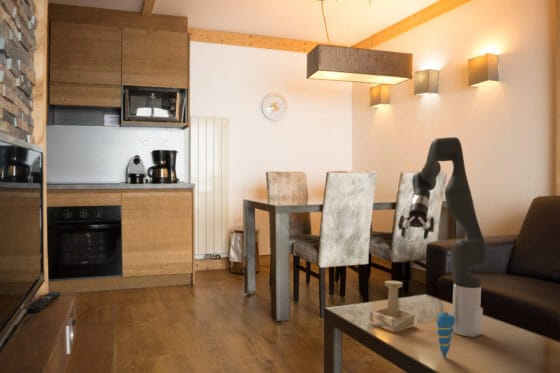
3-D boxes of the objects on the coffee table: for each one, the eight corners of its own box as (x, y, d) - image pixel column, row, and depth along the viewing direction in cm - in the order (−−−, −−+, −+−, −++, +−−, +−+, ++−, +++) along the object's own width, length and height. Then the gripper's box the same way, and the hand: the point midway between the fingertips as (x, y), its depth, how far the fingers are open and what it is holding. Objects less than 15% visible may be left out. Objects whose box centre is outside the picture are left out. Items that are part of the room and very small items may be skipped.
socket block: (414, 326, 172) (414, 313, 172) (395, 332, 165) (395, 319, 165) (388, 318, 181) (389, 306, 181) (369, 323, 174) (370, 311, 174)
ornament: (449, 354, 145) (451, 306, 145) (456, 360, 140) (458, 311, 140) (433, 353, 145) (434, 306, 145) (439, 360, 140) (441, 311, 140)
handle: (382, 319, 176) (383, 280, 175) (399, 320, 175) (401, 281, 175) (384, 323, 171) (385, 283, 170) (402, 324, 170) (403, 284, 170)
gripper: (401, 201, 201) (395, 230, 191) (435, 203, 195) (431, 232, 185) (403, 212, 206) (397, 241, 196) (437, 214, 200) (432, 244, 190)
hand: (413, 237), depth 191 cm, fingers open, 8 cm apart
